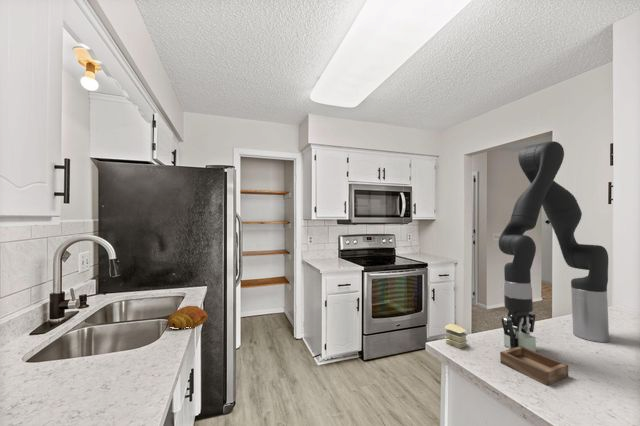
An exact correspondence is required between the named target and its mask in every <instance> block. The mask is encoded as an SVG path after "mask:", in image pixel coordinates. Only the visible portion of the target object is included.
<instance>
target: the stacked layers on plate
mask: <svg viewBox="0 0 640 426" xmlns="http://www.w3.org/2000/svg"><path fill="white" fill-rule="evenodd" d="M467 331H468V330H466V329H464V328H462V327H461V326H460V325H457V324H454V323H449V324H447V325H445V326H444V332H445V335H444V338H445V343H446V344H448V345H452V346H453V347H457V348H458V349H461V348H464V347H467V343H468V340H467V336H468V334H467V333H465V332H467ZM446 339H449V340H446Z"/></svg>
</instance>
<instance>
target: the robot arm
mask: <svg viewBox="0 0 640 426" xmlns="http://www.w3.org/2000/svg"><path fill="white" fill-rule="evenodd" d="M564 157H565V150H564V147H563V146H562V144H561V143H560V142H558V141H554V140H553V141H545V142H541V143H537V144H532V145H527V146H525V147H522V148H521V149H520V151H519V152H518V157H517V159H518V163H519V166H520V169H521V170H522V173H523V174H524V175H525V176H526V178H527V179H528V182H529V183H530V184H529V186H528V187H527V188H526V189H525V190H524V191H523V192H522V193H521V195H519V197H518V198H517V200H516V201H515V204H514V206H513V210H512V212H511V216H510V220H509V222H508V223H507V224H506V226H505V227H504V229H503V231H502V232H501V234H500V236H499V239H498V248H499V250H500V251H501V253H502V254H505V255H509V256H513V259H512V262H511V261H510V262H507V263H505V265H504V269H503V270H504V271H503V272H504V274H503V275H504V284H503V294H504V295H503V296H504V297H503V298H504V308H506V309H507V311H508V312H507V317H501V319H500V321H501V324H502V329H503V335H504V334H505V335H508V336H510V347H511V348H516V347H519V344H518V335H519V332H522V333H525V334H528V335H531V333H534V331H535V324H536V314H534V313H532V312H533V311H534V307H533V306H534V305H533V303H534V302H533V288H532V282H531V281H532V280H531V279H532V278H531V269H532V266H533V262H534V259H535V256H536V253H537V248H536V247H537V245H536V243H535V240H534V239H533V238H532V237H531V236H528V235H525V233H526V232H527V231H531V230H533V229H535V228H536V225H537V222H538V218H539V216H540V215H539V214H540V212H541V208H542V209H543V211H544V213H545V215H546V217H547V219H548V221H549V223H550V225H551V227H552V229H553V232H554V234H555V236H556V239H557V241H558V245H559V248H560V251H561V254H562V257H563V259H564V261H565V263H566V264H567V266H568V267H570V268H573V269H578V270H585V271H588V274H587V276H583V277H577V278H576V277H575V278H572V279H571V280H570V288H571V291H570V293H571V310H572V311H571V313H572V334H573V335H575V336H576V337H578V338H581V339H584V340H587V341H592V342H597V343H600V342H601V343H607V342H609V341H610V331H609V330H610V327H609V308H608V307H609V305H608V304H609V303H608V302H609V301H608V283H609V253H608V251H607V249H606V248H605V247H604V246H603V245H598V244H586V243H585V244H583V243H578V241H576V238H575V231H576V229H577V228H578V225H579V223H580V222H581V219H582V216H583V215H582V210H581V208H580V206H579V203H578V201H577V198H576V197H575V196H574V194H573V193H571V192H570V191H569V190H568V189H566V188H565V187H563V186H562V185H560V184H559V183H558V182H556V181H555V178H556V176H557V174H558V173H559V171H560V169H561V166H562V164H563V161H564ZM508 330H509V332H508ZM513 330H515V334H514V331H513Z"/></svg>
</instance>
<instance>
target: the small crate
mask: <svg viewBox="0 0 640 426" xmlns="http://www.w3.org/2000/svg"><path fill="white" fill-rule="evenodd" d="M513 331H514V334H515V330H513ZM508 332H509V330H508ZM536 339H537V338H536V336H533V335H531V334H530V335H528V334H525V333H522V332H519V335H518V344H519V346H522V347H525V348H527V349H530V350H532V351H535V352H537V347H536V345H537V342H536ZM503 342H504V343H503V344H504V345H503V346H504V347H505V348H507V347H508V349H512V348H511V347H510V336H508V335H505V334H504V333H503Z"/></svg>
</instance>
